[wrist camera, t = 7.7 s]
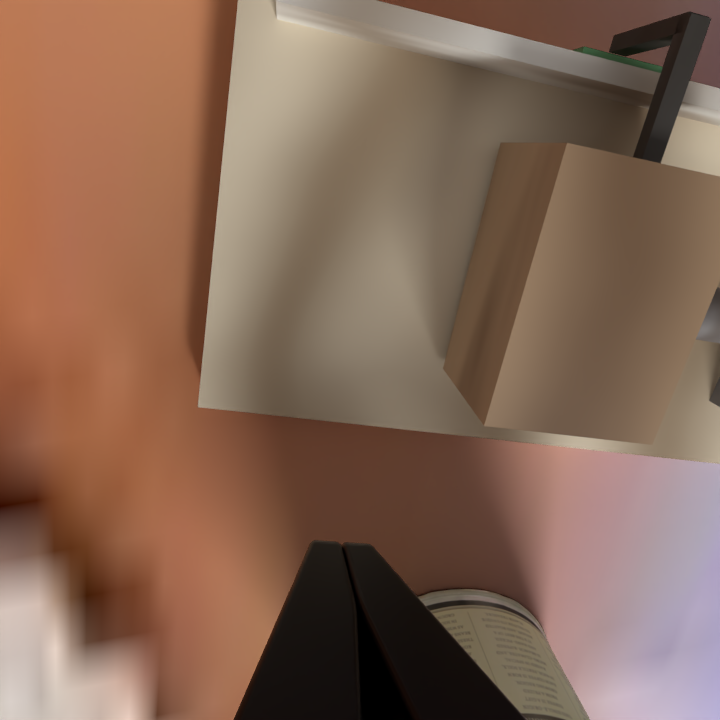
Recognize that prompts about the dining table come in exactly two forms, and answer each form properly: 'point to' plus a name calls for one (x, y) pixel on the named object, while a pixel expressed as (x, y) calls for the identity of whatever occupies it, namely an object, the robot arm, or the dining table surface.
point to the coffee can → (508, 651)
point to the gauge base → (401, 209)
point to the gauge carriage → (592, 273)
